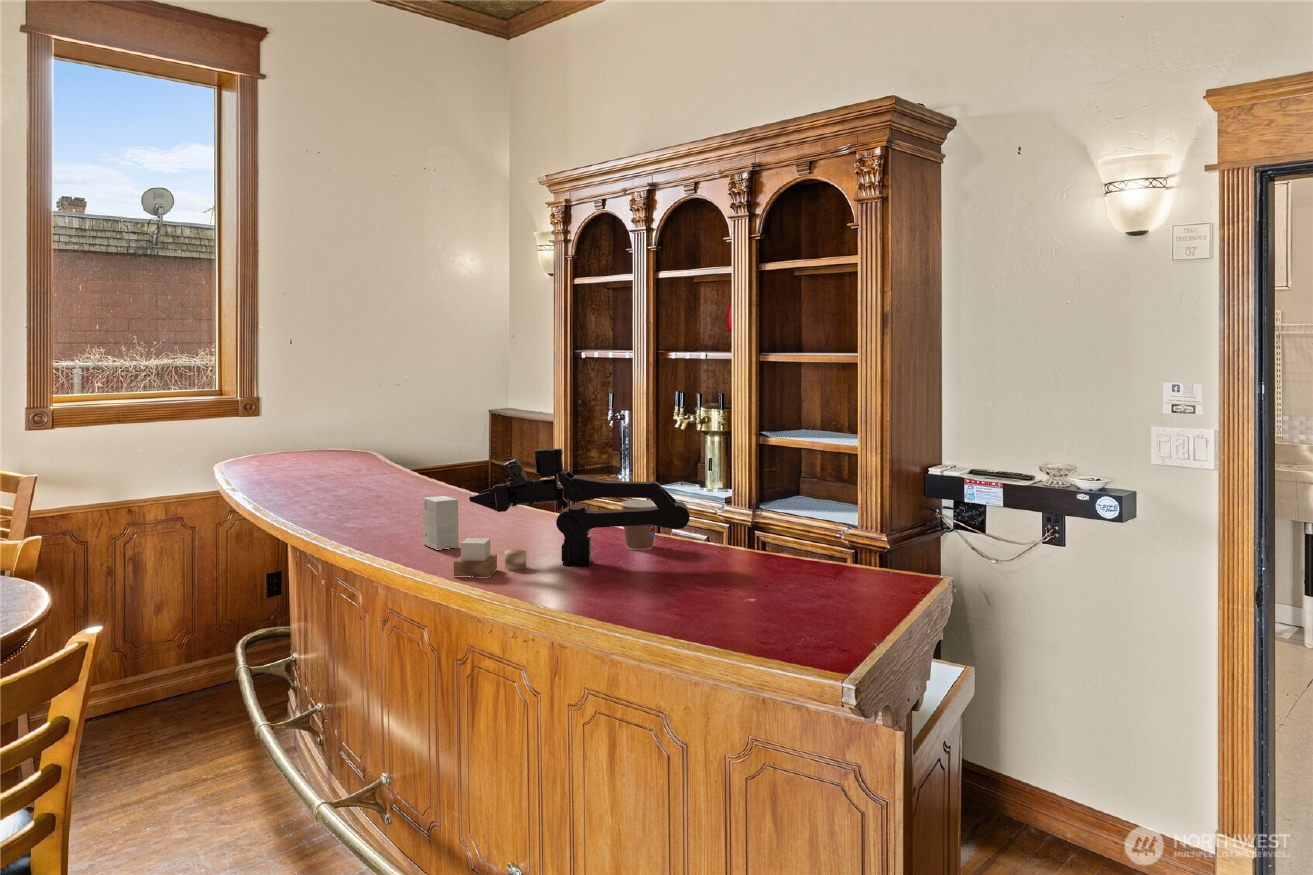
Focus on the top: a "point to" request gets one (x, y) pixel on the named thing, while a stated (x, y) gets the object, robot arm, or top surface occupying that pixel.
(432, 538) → the small box
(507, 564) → the birch puck
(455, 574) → the walnut slab
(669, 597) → the top surface
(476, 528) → the top surface
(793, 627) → the top surface
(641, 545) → the coffee cup
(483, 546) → the grey block
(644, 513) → the robot arm
